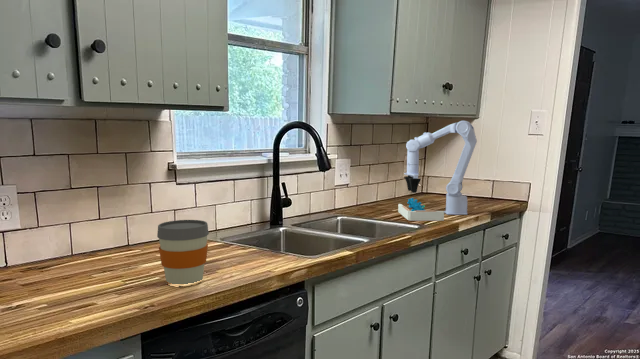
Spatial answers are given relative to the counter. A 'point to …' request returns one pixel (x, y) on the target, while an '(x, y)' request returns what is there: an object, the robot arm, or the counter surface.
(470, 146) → the robot arm
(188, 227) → the reusable coffee cup
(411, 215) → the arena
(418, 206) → the blue toy dinosaur
